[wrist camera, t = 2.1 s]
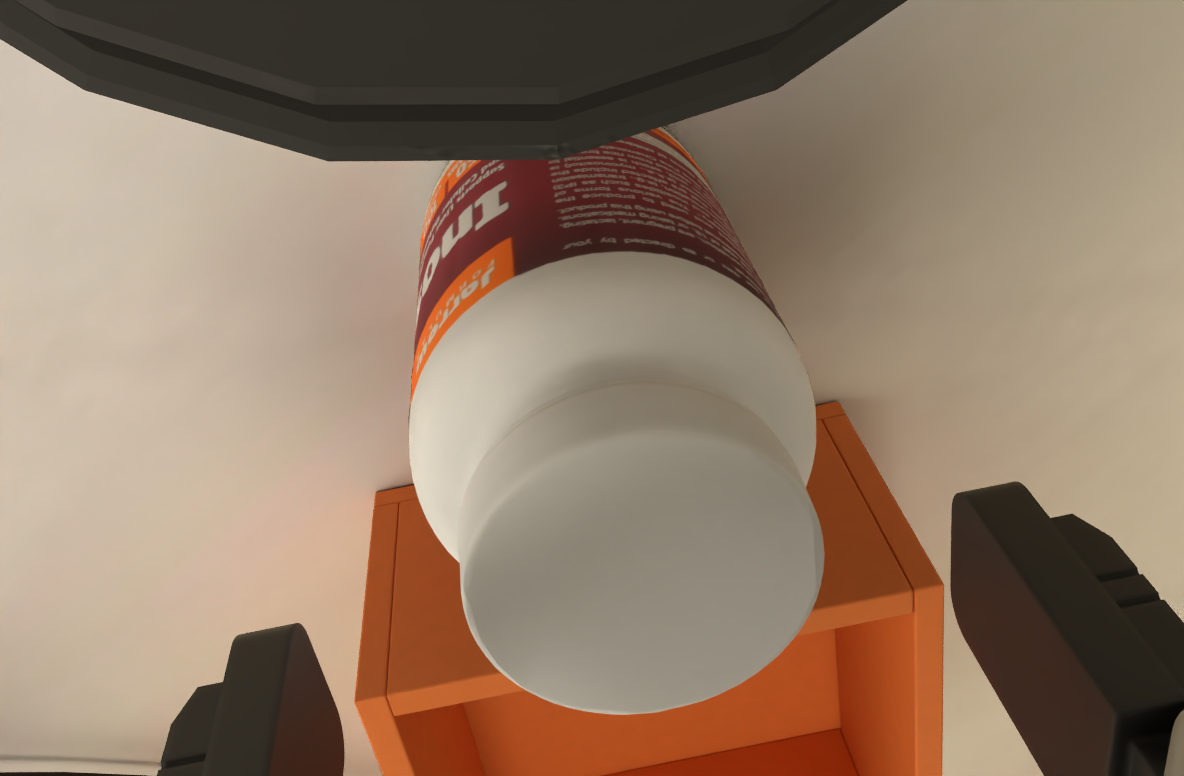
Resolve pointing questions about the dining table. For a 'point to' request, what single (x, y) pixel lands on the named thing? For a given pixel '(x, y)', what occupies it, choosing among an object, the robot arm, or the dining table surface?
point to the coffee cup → (433, 66)
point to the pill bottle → (611, 428)
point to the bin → (690, 733)
